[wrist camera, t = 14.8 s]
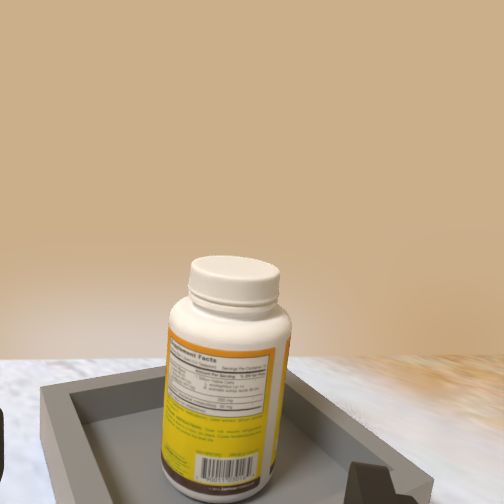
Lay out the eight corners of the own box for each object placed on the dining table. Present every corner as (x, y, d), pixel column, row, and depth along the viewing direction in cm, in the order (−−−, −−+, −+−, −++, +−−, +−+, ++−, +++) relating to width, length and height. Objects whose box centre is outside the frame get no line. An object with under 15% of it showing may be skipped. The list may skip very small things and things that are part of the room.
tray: (256, 388, 32) (261, 349, 31) (421, 536, 21) (434, 478, 20) (39, 437, 24) (40, 387, 24) (109, 712, 13) (114, 629, 12)
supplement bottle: (219, 420, 26) (236, 247, 24) (296, 472, 22) (324, 273, 20) (135, 462, 22) (146, 257, 20) (213, 533, 18) (237, 292, 16)
